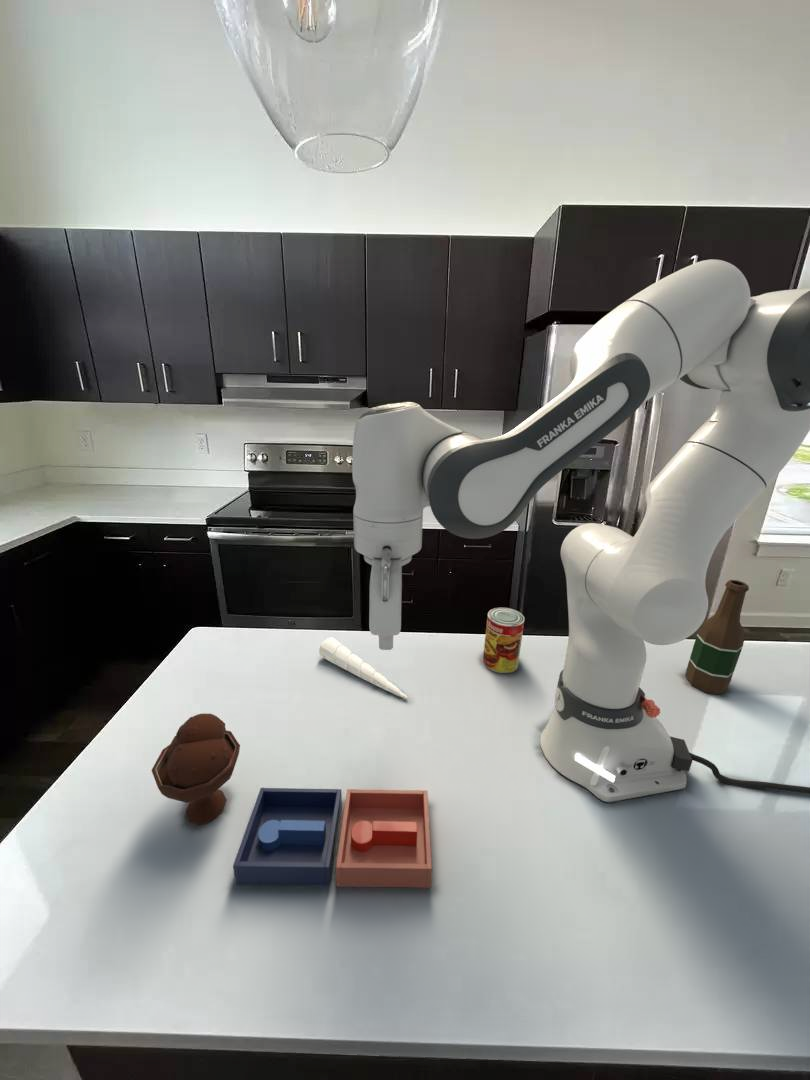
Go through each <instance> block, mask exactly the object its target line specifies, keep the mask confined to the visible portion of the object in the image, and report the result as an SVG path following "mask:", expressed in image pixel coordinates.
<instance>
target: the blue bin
mask: <svg viewBox="0 0 810 1080" xmlns="http://www.w3.org/2000/svg"><path fill="white" fill-rule="evenodd" d="M342 794H343V793H342V788H296V787H295V788H294V787H293V788H289V787H288V788H287V787H260V788H259V791H258V795H257V797H256V799H255V803H254V805H253V808H252V811H251V814H250V816H249V819H248V822H247V825H246V828H245V830H244V834H243V837H242V839H241V842H240V845H239V848H238V851H237V854H236V857H235V859H234V862H233V865H232V869H233V875H234V882H235V885H236V886H273V887H274V886H275V887H276V886H280V887H281V886H282V887H285V886H286V887H295V886H296V887H331V884H332V878H333V871H334V866H335V865H334V863H335V858H336V850H337V843H338V837H339V830H340V823H341V816H342V809H343V797H342ZM269 820H278V821H279V822H281V820H306V821H325V824H326V839H325V844H324V845H282V844H281V845H280V846H279V847H278V848H276V849H275V850H272V851H265V850H263V849H261V847H260V845H259V839H258V832H259V829H260V827H261V826H262V825H263V824H264V823H265V822H267V821H269Z"/></svg>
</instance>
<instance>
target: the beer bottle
mask: <svg viewBox="0 0 810 1080" xmlns="http://www.w3.org/2000/svg"><path fill="white" fill-rule="evenodd" d="M724 586H725V589H724V592H723V594H722V596H721V599H720V602H719V604H718V607H717V609H716V610H715V612H714V614H713V615H712V616H710V617H709V618H708V619H705V620H704V621H703V623H702V624H701V626H700V627H699V628H698V630H697V634H696V637H695V639H694V643H693V646H692V650H691V653H690V656H689V658H688V663H687V667H686V671H685V675H684V677H685V678H686V680H687V681H688V683H689V684H690V686H692V687H694V688H696V689H697V690H699V691H701V692H703V693H706V694H712V695H713V694H714V695H719V696H720V695H722V694H724V692H725V691H726V690H727V689H728V688H729V686H730V684H731V681H732V678H733V676H734V672H735V669H736V667H737V664H738V661H739V659H740V656H741V653H742V650H743V647H744V644H745V639H746V636H745V630H744V628H743V626H742V624H741V613H742V610H743V605H744V601H745V599H746V598H745V597H746V593H747V592H748V591H749V590H750V587H749V585H748V584H747V583H745V582H743V581H741V580H736V579H729V580H727V581H726V583H725V584H724Z"/></svg>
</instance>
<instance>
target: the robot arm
mask: <svg viewBox="0 0 810 1080" xmlns="http://www.w3.org/2000/svg"><path fill="white" fill-rule="evenodd" d="M569 372H570V373H569V374H570V378H571V383H570V384H569V385H568V386H567V387H566V388H565V389H564V390H563V391H561V392H560V393H559V394H558V395H557V396H555V397H553V399H551V400H550V401H549V402H547V403H546V404H545V405H543V406H542V407H541V408H539V409H538V410H537V411H535V412H534V413H533V414H531V415H530V416H529V417H528V418H526V419H525V420H524V421H522V422H521V423H520V424H518V425H517V426H516V427H515V428H513V429H511V430H510V431H509V432H507V433H505V434H502V435H500V436H496V437H492V438H485V439H483V438H481V437H479V436H477V435H476V434H473V433H470V432H467V431H465V430H462V429H459V428H457V427H455V426H452V425H450V424H449V423H446V422H444V421H442V420H441V419H439V418H437V417H436V416H434V415H432V414H431V413H429V412H428V411H426V410H425V409H424V408H423V407H422V406H421V404H419V403H416V402H414V401H403V402H394V403H386V404H382V405H377V406H375V407H371V408H369V409H367V410H366V411H364V412H363V413H362V414H361V415H360V416H359V418H358V419H357V420H356V423H355V426H354V432H353V440H352V458H351V460H352V465H351V467H352V468H351V469H352V471H351V472H352V482H353V485H354V488H355V502H354V505H353V509H352V514H353V516H352V517H353V519H352V520H353V547H354V550H355V551H356V552H357V553H359V554H361V555H363V560H364V561H365V563H367V564H368V565H371V570H370V577H369V591H368V592H369V594H368V595H369V597H368V599H369V601H368V606H369V607H368V608H369V610H368V625H369V631H370V634H371V635H373V636H377V637H378V648H379V650H381V651H390V650H393V648H394V636H398V635H399V634H401V630H402V629H401V628H402V598H403V597H402V596H403V593H402V591H403V589H402V588H403V566H405V565H407V564H410V562H411V561H412V559H413V556H414V555H415V554H418V553H419V552H420V551H421V549H422V547H423V522H424V509H425V508H429V507H430V510H431V513H432V515H433V516H434V518H435V520H436V521H437V522H438V524H439V525H440V526H441V527H442V528H443V529H444V530H446V531H447V532H449V533H451V534H452V535H455V536H457V537H460V538H464V539H470V540H471V539H472V540H479V539H487V538H490V537H493V536H495V535H498V534H500V533H502V532H503V531H505V530H507V529H508V528H509V527H510V526H512V525H513V524H514V523H515V522H516V521H517V520H518V518H519V517H520V516H521V515H522V514H523V512H524V511H525V509H526V508H527V507H528V506H529V504H530V503H531V502H532V500H533V498H534V497H535V496H536V495H537V493H539V491H540V490H541V489H542V488H543V487H544V486H545V485H546V484H547V483H548V482H549V481H551V480H552V479H553V478H554V477H556V476H557V475H558V474H559V473H561V472H562V471H563V470H564V469H566V468H567V467H568V466H569V465H571V464H573V463H574V462H575V461H576V460H577V459H579V458H580V457H581V456H583V455H584V454H585V453H587V452H588V451H589V450H590V449H592V448H593V447H594V446H596V445H597V444H598V443H600V442H601V441H602V440H604V439H605V438H606V437H607V436H609V435H610V434H611V433H612V432H613V431H615V430H616V429H618V428H619V427H620V426H621V425H622V424H623V423H625V422H626V421H627V420H628V419H630V417H631V416H633V414H635V412H636V411H638V410H639V408H640V407H641V406H642V405H643V404H645V403H646V402H648V401H649V400H650V399H651V398H653V397H655V396H656V395H657V394H660V393H661V392H662V391H663V390H665V389H666V388H668V387H670V386H671V385H673V384H674V383H676V382H677V381H679V380H680V381H682V382H683V383H684V384H686V385H688V386H690V387H694V388H697V389H699V390H700V389H701V390H715V391H721V392H720V395H719V400H718V401H717V404H716V407H715V409H714V410H713V412H712V414H711V416H710V417H709V418H708V419H707V420H705V422H704V423H703V424H701V426H699V428H698V429H697V430H696V431H695V432H694V433H693V434H692V435H691V436H690V437H689V438H688V440H686V442H685V443H684V444H683V445H682V446H681V448H679V450H678V451H677V452H676V453H675V454H674V455H673V457H671V459H670V460H669V461H668V462H667V464H666V465H664V467H662V469H661V470H660V472H658V474H657V475H656V476H655V477H654V478H653V479H652V480H651V482H650V483H649V484H648V486H647V487H646V489H645V492H644V493H645V494H644V499H645V503H646V508H645V509H646V510H645V513H644V517H643V519H642V521H641V524H640V525H639V527H638V529H637V531H636V533H635V534H634V536H632V535H630V533H627V532H625V531H624V530H622V529H620V528H618V527H615V526H612V525H607V524H602V523H598V522H597V523H596V522H587V523H583V524H580V525H578V526H576V527H575V528H574V529H571V531H569V533H568V534H567V535H566V536H565V537H564V540H563V541H562V544H561V547H560V559H561V562H562V566H563V570H564V574H565V582H566V597H567V612H568V614H567V615H568V637H567V638H568V639H567V645H566V650H565V659H564V663H563V669H561V671H560V674H559V675H558V676H559V677H558V681H557V686H556V689H555V694H554V707H553V709H552V713H551V716H550V718H549V721H548V722H547V724H546V726H545V727H544V729H543V730H542V732H541V734H540V743H539V744H540V748H541V751H542V754H543V755H544V757H545V758H546V760H547V762H548V763H549V764H550V765H551V767H553V768H554V769H555V770H556V771H557V772H559V774H561V775H563V776H564V777H565V778H567V779H568V780H570V781H572V782H573V783H576V784H578V785H580V786H582V787H584V788H586V790H587V791H589V792H591V793H592V794H593V795H594V796H595V797H596V798H598V799H600V800H601V801H602V802H605V803H612V802H619V801H624V800H629V799H634V798H639V797H646V796H651V795H657V794H662V793H668V792H672V791H673V792H674V791H677V790H683V789H686V786H687V773H686V772H690V770H691V767H692V765H693V762H696V763H699V764H701V765H703V766H705V767H707V768H709V769H710V770H711V772H712V775H713V777H714V778H715V779H716V780H718V781H720V782H722V783H723V784H727V785H731V786H735V787H742V788H750V789H751V788H752V789H765V790H773V791H780V792H781V791H782V792H788V793H791V792H792V793H799V794H807V795H810V787H809V786H801V785H791V784H784V783H778V782H777V783H776V782H768V781H757V780H743V779H742V780H741V779H734V778H731V777H727V776H725V775H723V774H721V773H720V770H719V769H718V767H717V766H716V764H714V763H713V762H712V761H710V760H708V759H707V758H704V757H702V756H699V755H697V754H694V753H692V752H690V751H689V748H688V746H687V743H686V741H685V739H682V738H678V737H674V736H670V735H669V732H668V731H667V730H666V727H665V726H664V725H663V723H662V722H661V721H660V720H659V719H658V718H657V717H658V716H660V714H661V709H660V708H659V706H658V705H657V704H656V703H655V701H654V700H653V699H647V697H646V693H645V692H644V690H643V689H642V688H641V687H640V685H641V681H642V678H643V677H642V676H643V673H644V670H645V666H646V662H647V647H646V644H645V642H646V643H648V644H650V645H654V646H669V645H674V644H677V643H680V642H682V641H684V640H687V639H688V638H689V637H691V636H693V634H694V633H695V632H697V631H698V630H699V629H700V626H701V625H702V624H703V623H704V622H705V620H706V616H707V614H708V610H709V597H708V593H707V589H706V580H707V579H706V578H707V572H708V568H709V565H710V562H711V559H712V556H713V554H714V552H715V549H716V548H717V546H718V544H719V542H721V540H722V539H723V536H725V534H726V533H727V531H729V529H730V528H731V527H732V525H734V523H735V522H736V521H737V520H738V519H739V518H740V517H741V515H742V514H743V513H744V512H746V510H747V509H748V508H749V507H750V506H751V504H752V503H753V502H754V501H755V500H756V499H757V498H758V497H759V496H760V495H761V494H762V493H763V491H764V490H766V488H767V487H769V485H770V484H771V483H772V482H773V481H774V480H775V479H776V478H777V476H778V475H779V474H780V473H781V472H782V471H783V469H785V467H786V466H787V464H788V463H789V462H790V460H791V459H792V458H793V456H794V455H795V454H796V452H797V451H798V449H799V448H800V446H801V445H802V443H803V442H804V440H805V439H806V437H807V435H808V434H809V433H810V287H809V288H794V289H784V290H776V291H771V292H765V293H762V294H760V295H756V296H755V295H754V296H751V288H750V285H749V283H748V280H747V278H746V276H745V275H744V274H743V272H742V271H741V270H740V269H739V268H738V267H736V265H734V264H733V263H730V262H728V261H725V260H721V259H711V258H710V259H705V260H704V259H703V260H701V261H697V262H694V263H692V264H690V265H688V266H685V267H683V268H680V269H679V270H677V271H674V272H672V273H670V274H669V275H667V276H665V277H662V278H661V279H659V280H657V281H656V282H654V283H652V284H650V285H648V286H647V287H646V288H644V289H642V290H640V291H639V292H637V293H636V294H634V295H632V296H631V297H629V298H628V299H626V300H625V301H624V302H622V303H621V304H619V305H617V306H616V307H615V308H613V309H612V310H611V311H610V312H608V313H606V315H604V316H602V317H601V318H600V319H599V320H598V321H597V322H596V323H594V325H592V326H591V327H590V328H589V329H588V330H587V331H586V333H584V334H583V335H582V337H580V338H579V339H578V341H576V343H575V344H574V347H573V350H572V352H571V355H570V362H569Z"/></svg>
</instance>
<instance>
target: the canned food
mask: <svg viewBox="0 0 810 1080" xmlns="http://www.w3.org/2000/svg"><path fill="white" fill-rule="evenodd" d="M525 619H526V618H525V616H524V615H523V614H522V613H521V612H520V611H518V610H516V609H513V608H510V607H504V606H503V607H501V606H500V607H494V608H492V609H490V610H489V611H488V612H487V616H486V627H485V637H484V645H483V656H482V662H483V664H484V666H485V667H486V668H487V669H489V670H490V671H493V672H495V673H499V674H510V673H513V672H515V671H516V670H517V669H518V668H519V661H520V656H521V647H522V640H523V632H524V626H525Z"/></svg>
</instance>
